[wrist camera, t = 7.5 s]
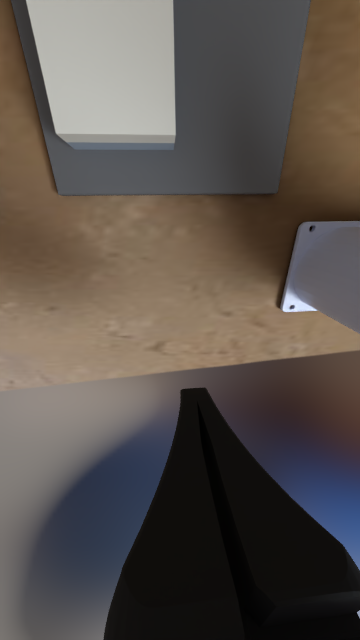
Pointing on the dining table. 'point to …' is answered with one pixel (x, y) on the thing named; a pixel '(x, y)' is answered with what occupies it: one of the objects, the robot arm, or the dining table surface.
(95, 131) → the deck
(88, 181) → the mat
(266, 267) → the dining table surface
